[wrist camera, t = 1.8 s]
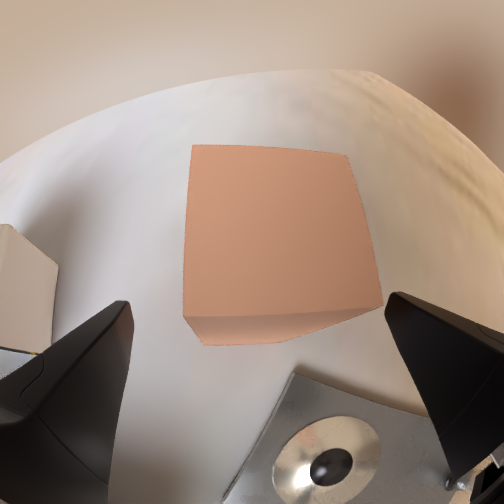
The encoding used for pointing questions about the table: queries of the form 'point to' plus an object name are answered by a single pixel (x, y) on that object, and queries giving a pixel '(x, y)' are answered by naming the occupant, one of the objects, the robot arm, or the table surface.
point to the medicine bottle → (25, 294)
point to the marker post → (273, 245)
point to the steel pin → (464, 481)
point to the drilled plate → (341, 453)
